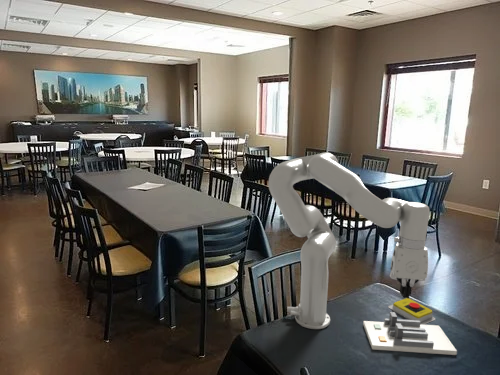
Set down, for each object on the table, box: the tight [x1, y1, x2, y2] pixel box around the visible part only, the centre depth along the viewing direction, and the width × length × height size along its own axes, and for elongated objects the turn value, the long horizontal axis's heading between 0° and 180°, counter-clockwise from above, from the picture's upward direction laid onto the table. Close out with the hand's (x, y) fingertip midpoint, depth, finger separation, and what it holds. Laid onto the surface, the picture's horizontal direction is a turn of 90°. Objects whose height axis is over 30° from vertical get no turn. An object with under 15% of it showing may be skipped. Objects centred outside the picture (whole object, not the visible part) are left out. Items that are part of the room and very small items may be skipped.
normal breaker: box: [388, 311, 398, 327], centre depth 127 cm, size 2×3×5 cm, turn 174°
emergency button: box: [387, 297, 436, 325], centre depth 140 cm, size 9×4×15 cm
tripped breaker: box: [394, 323, 403, 339], centre depth 120 cm, size 2×3×5 cm, turn 175°
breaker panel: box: [362, 317, 458, 356], centre depth 124 cm, size 26×14×3 cm, turn 85°
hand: (404, 296), depth 118 cm, fingers closed
